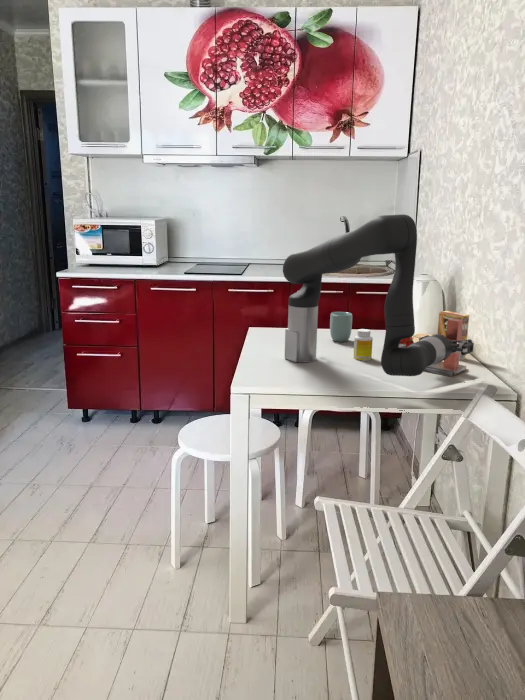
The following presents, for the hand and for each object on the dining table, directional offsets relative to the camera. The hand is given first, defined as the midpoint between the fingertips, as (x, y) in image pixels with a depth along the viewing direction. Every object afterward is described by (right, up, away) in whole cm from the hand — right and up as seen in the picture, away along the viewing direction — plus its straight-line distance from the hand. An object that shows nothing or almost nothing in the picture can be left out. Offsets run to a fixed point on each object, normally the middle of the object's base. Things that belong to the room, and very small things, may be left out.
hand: (456, 340), depth 169 cm
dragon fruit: (-11, -4, +25) cm, 27 cm away
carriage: (-3, -8, +2) cm, 9 cm away
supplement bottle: (-25, -7, +14) cm, 29 cm away
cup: (-28, 0, +42) cm, 51 cm away
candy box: (+4, -6, +18) cm, 19 cm away
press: (-7, -9, +6) cm, 13 cm away
